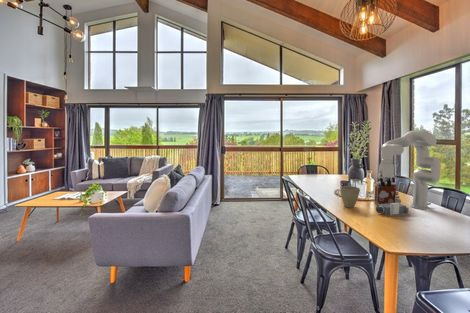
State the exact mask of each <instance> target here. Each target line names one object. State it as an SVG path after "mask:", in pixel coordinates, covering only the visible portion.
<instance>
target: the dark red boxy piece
mask: <svg viewBox="0 0 470 313" xmlns="http://www.w3.org/2000/svg"><path fill="white" fill-rule="evenodd" d="M384 182H385V181H384ZM387 203H399V204H402V199H401V198H400V196H399V191H398V190H397V183H396V182H391V187H389V186H387V181H386V182H385V187H381V181H376V182H375V184H374V204H375V205H376V206H377V204H387Z"/></svg>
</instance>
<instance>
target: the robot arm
mask: <svg viewBox="0 0 470 313" xmlns="http://www.w3.org/2000/svg"><path fill="white" fill-rule="evenodd" d="M437 142H438V141H437V138H436V136H435V135H434V134H432V133H431V132H429V131H427V130H425V129H420V130H419V129H418V130H417V129H416V130H410V131H408V132H406V133H405V134H404V135H402V136H400V137H397V138H394V139H391V140H388V141H386V142H385V143H384V144H382V145H381V148H380V151H381V155H380V156H381V159H380V163H379V166H378V173H377V178H378V180H379V182H381V187H385V181H386V182H387V186H389V187H391V183H392V182H393V180H394V178H396V175H395V164H394V162H395V161H394V157H395V156H399V155H402V154H403V153H404V150H405V148H407V147H409V146H411V145H412V146H413V147H414V148H415V153H416V154H415V164H416V167H417V168H419V169H415V170H414V171H413V172H412V177H413V178H412V179H413V192H412V194H413V195H412V203H411V204H410V205H409V206H410V207H411V208H414V209H417V210H418V209H419V210H429V209H430V207H429V206H431V205H432V202H428V198H429V197H428V193H429V185H428V184H427V183H432V184H437V183H439V182H440V179H441V167H442V166H441V163H442V162H441V160H440V158H438V157H436V156H430V148H429V147H434V146H435V145H436V144H437ZM394 155H395V156H394ZM386 179H387V180H386Z"/></svg>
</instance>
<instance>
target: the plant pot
mask: <svg viewBox="0 0 470 313" xmlns="http://www.w3.org/2000/svg"><path fill="white" fill-rule="evenodd" d="M360 190H361V188H360V187H357V186H351V185H342V186H340V195H341V200H342V203H343V206H344V207H345V208H349V209H350V208H351V209H352V208H354V207H355V206H356V203H357V201H358V199H359V195H360Z"/></svg>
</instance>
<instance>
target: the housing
mask: <svg viewBox="0 0 470 313" xmlns="http://www.w3.org/2000/svg"><path fill="white" fill-rule="evenodd" d="M375 211H376V213H378V214H381V215H384V216H389V217H396V216H405V215H406V216H407V215H409V207H407V205H404V204H402V203H399V214H393V215H391V214H390V203H387V204H377V205H376V207H375Z"/></svg>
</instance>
